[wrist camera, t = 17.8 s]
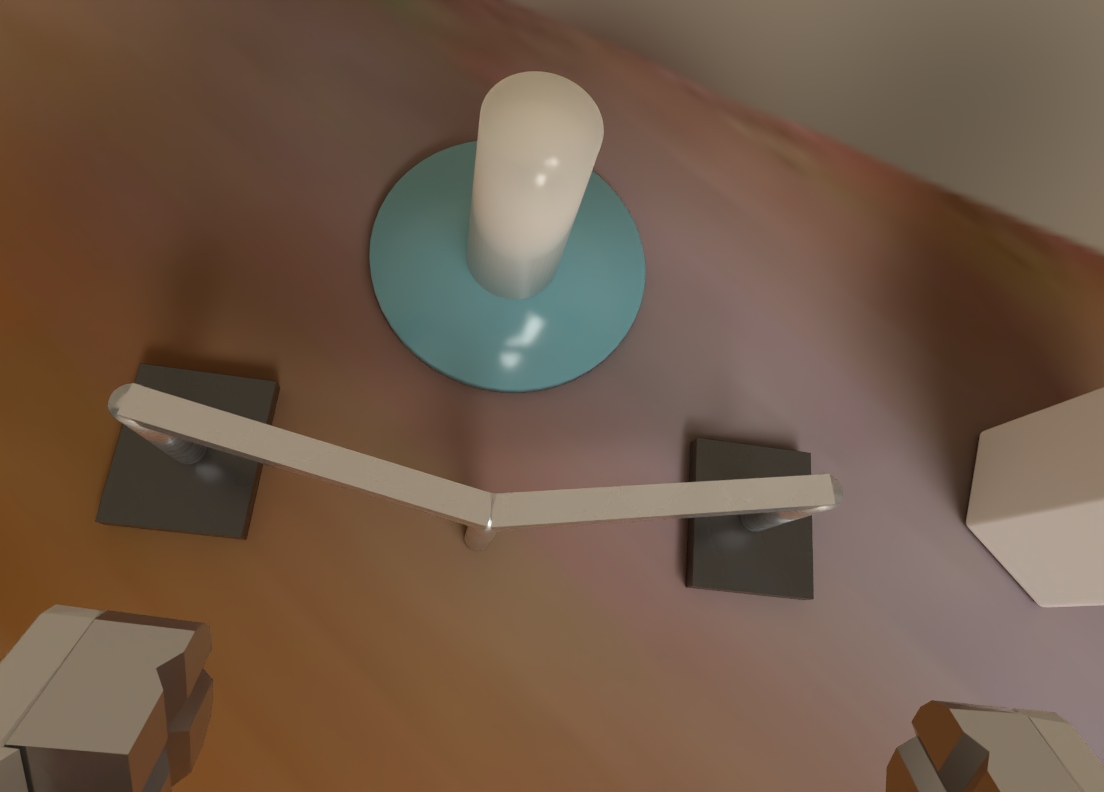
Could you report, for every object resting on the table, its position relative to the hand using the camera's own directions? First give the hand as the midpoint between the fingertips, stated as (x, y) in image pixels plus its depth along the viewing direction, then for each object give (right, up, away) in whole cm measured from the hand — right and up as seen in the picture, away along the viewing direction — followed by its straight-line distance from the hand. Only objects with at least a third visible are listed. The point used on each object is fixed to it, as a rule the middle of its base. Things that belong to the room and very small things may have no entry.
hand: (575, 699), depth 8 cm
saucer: (-2, +9, +24) cm, 26 cm away
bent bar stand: (-3, 0, +21) cm, 21 cm away
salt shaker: (-2, +9, +24) cm, 26 cm away
